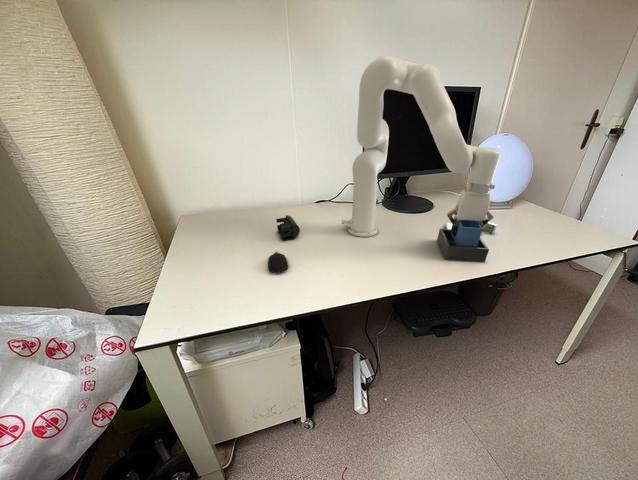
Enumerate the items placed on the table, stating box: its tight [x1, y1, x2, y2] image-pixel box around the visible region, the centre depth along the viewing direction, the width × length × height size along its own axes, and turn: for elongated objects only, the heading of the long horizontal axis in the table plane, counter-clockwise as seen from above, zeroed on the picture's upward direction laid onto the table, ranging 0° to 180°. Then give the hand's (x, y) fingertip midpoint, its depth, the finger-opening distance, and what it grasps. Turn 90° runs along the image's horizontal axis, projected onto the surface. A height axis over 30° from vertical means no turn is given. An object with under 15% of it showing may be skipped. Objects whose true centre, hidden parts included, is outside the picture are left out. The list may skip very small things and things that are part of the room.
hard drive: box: [444, 222, 453, 229], centre depth 120 cm, size 2×8×12 cm
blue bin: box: [450, 215, 483, 247], centre depth 101 cm, size 7×11×7 cm, turn 175°
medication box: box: [482, 221, 498, 235], centre depth 123 cm, size 12×3×4 cm, turn 38°
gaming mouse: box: [267, 251, 289, 274], centre depth 93 cm, size 6×15×4 cm, turn 16°
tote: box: [436, 228, 490, 263], centre depth 105 cm, size 14×16×5 cm
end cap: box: [275, 214, 301, 242], centre depth 111 cm, size 10×7×7 cm
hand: (464, 235), depth 102 cm, fingers closed on blue bin, 7 cm apart
